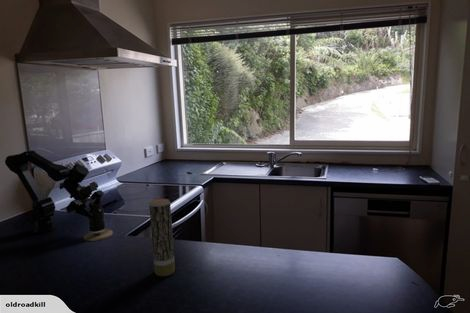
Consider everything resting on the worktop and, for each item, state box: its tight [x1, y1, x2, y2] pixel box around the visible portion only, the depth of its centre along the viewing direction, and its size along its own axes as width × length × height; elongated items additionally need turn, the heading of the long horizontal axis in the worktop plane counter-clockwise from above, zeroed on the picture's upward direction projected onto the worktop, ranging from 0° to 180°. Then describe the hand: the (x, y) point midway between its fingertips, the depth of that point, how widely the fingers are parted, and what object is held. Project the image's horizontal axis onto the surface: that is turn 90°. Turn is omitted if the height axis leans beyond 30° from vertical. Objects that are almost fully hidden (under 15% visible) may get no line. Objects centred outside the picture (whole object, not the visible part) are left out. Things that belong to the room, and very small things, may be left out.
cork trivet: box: [83, 228, 114, 242], centre depth 151 cm, size 12×12×1 cm
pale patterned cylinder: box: [148, 198, 176, 277], centre depth 114 cm, size 7×7×25 cm
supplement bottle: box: [87, 202, 106, 232], centre depth 149 cm, size 7×7×12 cm
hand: (98, 215), depth 149 cm, fingers closed on supplement bottle, 7 cm apart
